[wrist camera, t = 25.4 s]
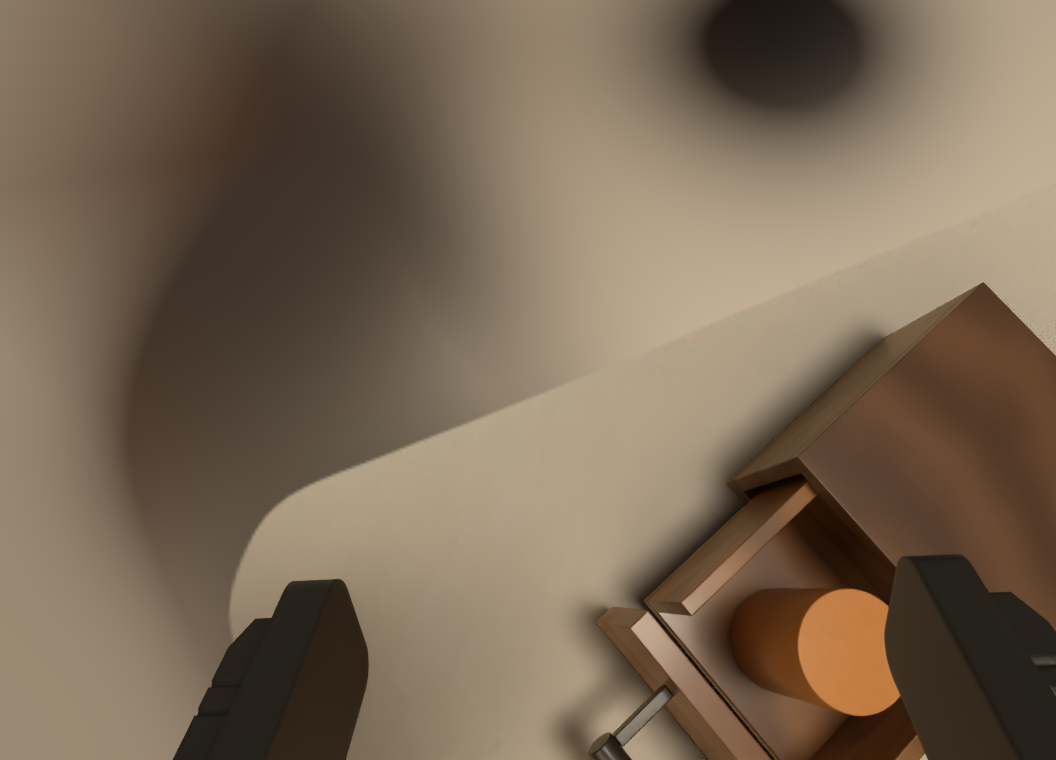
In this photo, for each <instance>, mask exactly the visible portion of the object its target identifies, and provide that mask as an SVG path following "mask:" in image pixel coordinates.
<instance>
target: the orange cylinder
mask: <svg viewBox="0 0 1056 760" xmlns="http://www.w3.org/2000/svg"><path fill="white" fill-rule="evenodd" d="M888 608H889V606H887V605H886V604H885V603H884V602H883V601H882V600H880V599H879V598H877V597H876V596H874V595H872V594H870V593H867V592H865V591H862V590H857V589H849V588H774V589H765V590H761V591H759V592H756V593H754V594H753V595H751V596H750V597H748V598H747V599H746V600H745V601H744V602H743V603H742V604H741V606H740V607H739V609H738V611H737V612H736V614H735V617H734V620H733V624H732V630H731V642H732V648H733V652H734V655H735V658H736V661H737V663H738V664H739V666H740V668H741V669H742V671H743V672H744V673H745V675H746V676H747V677H748V678H749V679H750V680H751V681H753V682H754V683H755V684H757V685H758V686H760V687H762V688H764V689H766V690H769V691H772V692H775V693H779V694H782V695H785V696H788V697H792V698H795V699H798V700H802V701H805V702H808V703H811V704H815V705H818V706H821V707H825V708H828V709H831V710H834V711H838V712H841V713H844V714H848V715H853V716H869V715H873V714H877V713H879V712H881V711H884V710H885V709H887V708H888V707H890V706H891V705H892V704H893V703H894V702H896V700H897V699H898V698H899V697H900V694H899V691H898V689H897V687H896V684H895V682H894V680H893V677H892V675H891V672H890V669H889V665H888V661H887V657H886V651H885V643H884V631H885V624H886V619H887V614H888Z"/></svg>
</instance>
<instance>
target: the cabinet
mask: <svg viewBox="0 0 1056 760" xmlns="http://www.w3.org/2000/svg"><path fill="white" fill-rule="evenodd" d="M798 474H802V475H803V476H804V477H805V478H806V479H807V480H808V482H809V483H810V484H811V485H812V486H813V487H814V488H815V489H816V491H817V492H818V493H819V494H820V495H821V496H822V497H823V498H824V500H825V501H826V502H827V503H828V504H829V505H830V506H831V507H832V509H833V510H834V511H835V512H836V513H837V514H838V515H839V516H840V518H841V519H842V520H843V521H844V522H845V523H846V524H847V525H848V527H849V528H850V529H851V530H852V531H853V532H854V533H855V534H856V535H857V537H858V538H859V539H860V540H861V541H862V542H863V543H864V544H865V546H866V547H867V548H868V549H869V550H870V551H871V552H872V553H873V555H874V556H875V557H876V558H877V559H878V560H879V561H880V562H881V564H882V565H883V566H884V567H885V568H886V569H887V570H888V571H889V573H890V574H891V575H892V576H893V577H894V576H895V571H896V566H897V562H898V560H899V559H900V557H902V556H918V555H941V554H961V555H963V556H965V557H966V558H967V559H968V560H969V562H970V563H971V564H972V566H973V567H974V569H975V571H976V572H977V574H978V575H979V577H980V578H981V580H982V582H983V583H984V585H985V586H986V588H987V589H988V591H989V592H1012V593H1013V594H1014V595H1016V596H1017V597H1018V598H1019V599H1021V600H1022V601H1023V602H1025V603H1026V604H1027V605H1028V606H1030V607H1031V608H1032V609H1033V610H1035V611H1036V612H1037V613H1038V614H1040V615H1041V616H1042V617H1043V618H1045V619H1046V620H1047V621H1048V622H1049V623H1050V624H1051V625H1052V627H1053V628H1054V630H1055V631H1056V356H1055V355H1054V354H1053V353H1052V352H1051V351H1050V350H1049V349H1048V348H1047V347H1046V346H1045V345H1044V343H1043V342H1042V341H1041V340H1040V339H1039V338H1038V337H1037V336H1036V335H1035V334H1034V333H1033V332H1032V331H1031V330H1030V329H1029V328H1028V327H1027V326H1026V325H1025V324H1024V323H1023V322H1022V321H1021V320H1020V319H1019V318H1018V317H1017V316H1016V315H1015V314H1014V313H1013V312H1012V311H1011V310H1010V309H1009V308H1008V307H1007V306H1006V305H1005V304H1004V303H1003V302H1002V301H1001V300H1000V299H999V297H998V296H997V295H996V294H995V293H994V292H993V291H992V290H991V289H990V288H989V287H988V286H987V285H986V284H985V283H984V282H983V283H981V284H979V285H977V286H975V287H974V288H972V289H971V290H969V291H967V292H965V293H963V294H961V295H960V296H958V297H956V298H954V299H953V300H951V301H949V302H947V303H945V304H944V305H942V306H940V307H938V308H936V309H935V310H933V311H931V312H929V313H928V314H926V315H924V316H922V317H920V318H919V319H917V320H915V321H913V322H911V323H910V324H908V325H906V326H904V327H903V328H901V329H899V330H897V331H895V332H894V333H892V334H890V335H888V336H886V337H885V338H884V339H883V340H882V341H880V342H879V343H878V344H877V345H876V346H875V347H874V348H873V349H872V350H871V351H870V352H868V353H867V354H866V355H865V356H864V357H863V358H862V359H861V360H860V361H859V362H858V363H856V364H855V365H854V366H853V367H852V368H851V369H850V370H849V371H848V372H847V373H846V374H844V375H843V376H842V377H841V378H840V379H839V380H838V381H837V382H836V383H835V384H834V385H832V386H831V387H830V388H829V389H828V390H827V391H826V392H825V393H824V394H823V395H822V396H820V397H819V398H818V399H817V400H816V401H815V402H814V403H813V404H812V405H811V406H810V407H808V408H807V409H806V410H805V411H804V412H803V413H802V414H801V415H800V416H799V417H798V418H796V419H795V420H794V421H793V422H792V423H791V424H790V425H789V426H788V427H787V428H786V429H784V430H783V431H782V432H781V433H780V434H779V435H778V436H777V437H776V438H775V439H774V440H772V441H771V442H770V443H769V444H768V445H767V446H766V447H765V448H764V449H763V450H762V451H760V452H759V453H758V454H757V455H756V456H755V457H754V458H753V459H752V460H751V461H750V462H748V463H747V464H746V465H745V466H744V467H743V468H742V469H741V470H740V471H739V472H738V473H736V474H735V475H734V476H733V477H732V478H731V479H730V480H729V481H728V482H727V483H728V484H729V485H730V486H731V487H732V489H733V490H734V491H735V492H736V493H737V494H738V496H739V497H740V498H741V499H742V500H743V501H744V502H745V504H747V503H748V502H749V501H750V500H751V499H752V498H753V497H754V496H755V495H756V494H758V493H759V492H760V491H761V490H762V489H763V488H764V487H765V486H766V485H767V484H769V483H772V482H775V481H779V480H782V479H785V478H788V477H791V476H794V475H798Z"/></svg>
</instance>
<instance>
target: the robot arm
mask: <svg viewBox="0 0 1056 760" xmlns="http://www.w3.org/2000/svg"><path fill="white" fill-rule="evenodd" d="M884 643H885V651H886V657H887V661H888V665H889V669H890V672H891V675H892V677H893V680H894V682H895V684H896V687H897V689H898V691H899V694H900V696H901V698H902V701H903V703H904V705H905V707H906V710H907V712H908V714H909V717H910V719H911V721H912V724H913V726H914V728H915V731H916V733H917V735H918V738H919V740H920V742H921V745H922V747H923V749H924V752H925V754H926V756H927V759H928V760H1056V631H1055V630H1054V628H1053V627H1052V625H1051V624H1050V623H1049V622H1048V621H1047V620H1046V619H1045V618H1043V617H1042V616H1041V615H1040V614H1038V613H1037V612H1036V611H1035V610H1033V609H1032V608H1031V607H1030V606H1028V605H1027V604H1026V603H1025V602H1023V601H1022V600H1021V599H1019V598H1018V597H1017V596H1016V595H1014V594H1013V593H1012V592H989V591H988V589H987V588H986V586H985V585H984V583H983V582H982V580H981V578H980V577H979V575H978V574H977V572H976V571H975V569H974V567H973V566H972V564H971V563H970V562H969V560H968V559H967V558H966V557H965V556H963V555H961V554H941V555H918V556H902V557H900V559H899V560H898V562H897V566H896V571H895V576H894V581H893V587H892V592H891V598H890V603H889V608H888V614H887V619H886V624H885V631H884ZM368 667H369V662H368V651H367V646H366V642H365V639H364V636H363V633H362V630H361V627H360V625H359V622H358V619H357V616H356V613H355V610H354V607H353V604H352V601H351V598H350V595H349V592H348V589H347V587H346V584H345V583H344V582H343V581H342V580H341V579H333V580H310V581H292V582H290V583H289V584H288V585H287V586H286V588H285V590H284V591H283V594H282V596H281V598H280V600H279V602H278V605H277V607H276V609H275V611H274V613H273V616H272V618H262V619H255V620H254V621H253V622H252V623H251V624H250V625H249V626H248V627H247V628H246V629H245V630H244V631H243V633H242V634H241V635H240V636H239V637H238V638H237V639H236V640H235V641H234V642H233V643H232V644H231V645H230V646H229V647H228V649H227V651H226V653H225V655H224V658H223V660H222V661H221V663H220V665H219V668H218V669H217V671H216V673H215V675H214V677H213V680H212V686H211V688H208V690H207V692H206V694H205V696H204V698H203V700H202V702H201V704H200V706H199V708H198V710H199V712H198V715H197V716H194V718H193V720H192V722H191V724H190V726H189V728H188V730H187V732H186V734H185V736H184V738H183V740H182V742H181V744H180V746H179V748H178V750H177V753H176V754H175V756H174V758H173V760H346V757H347V753H348V750H349V746H350V743H351V739H352V736H353V732H354V729H355V725H356V722H357V718H358V714H359V711H360V707H361V704H362V700H363V697H364V693H365V690H366V685H367V679H368Z"/></svg>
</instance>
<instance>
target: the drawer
mask: <svg viewBox="0 0 1056 760" xmlns="http://www.w3.org/2000/svg"><path fill="white" fill-rule="evenodd" d="M893 581H894V577H893V576H892V575H891V574H890V573H889V571H888V570H887V569H886V568H885V567H884V566H883V565H882V564H881V562H880V561H879V560H878V559H877V558H876V557H875V556H874V555H873V553H872V552H871V551H870V550H869V549H868V548H867V547H866V546H865V544H864V543H863V542H862V541H861V540H860V539H859V538H858V537H857V535H856V534H855V533H854V532H853V531H852V530H851V529H850V528H849V527H848V525H847V524H846V523H845V522H844V521H843V520H842V519H841V518H840V516H839V515H838V514H837V513H836V512H835V511H834V510H833V509H832V507H831V506H830V505H829V504H828V503H827V502H826V501H825V500H824V498H823V497H822V496H821V495H820V494H819V493H818V492H817V491H816V489H815V488H814V487H813V486H812V485H811V484H810V483H809V482H808V480H807V479H806V478H805V477H804V476H803V475H802V474H798V475H794V476H791V477H788V478H785V479H782V480H779V481H775V482H772V483H769V484H767V485H766V486H765V487H764V488H763V489H762V490H761V491H760V492H759V493H758V494H756V495H755V496H754V497H753V498H752V499H751V500H750V501H749V502H748V503H747V504H746V505H745V506H744V507H743V508H742V509H740V510H739V511H738V512H737V513H736V514H735V515H734V516H733V517H732V518H731V519H730V520H729V521H728V522H727V523H726V524H724V525H723V526H722V527H721V528H720V529H719V530H718V531H717V532H716V533H715V534H714V535H713V536H712V537H711V538H710V539H708V540H707V541H706V542H705V543H704V544H703V545H702V546H701V547H700V548H699V549H698V550H697V551H696V552H695V553H694V554H692V555H691V556H690V557H689V558H688V559H687V560H686V561H685V562H684V563H683V564H682V565H681V566H680V567H679V568H678V569H676V570H675V571H674V572H673V573H672V574H671V575H670V576H669V577H668V578H667V579H666V580H665V581H664V582H663V583H662V584H660V585H659V586H658V587H657V588H656V589H655V590H654V591H653V592H652V593H651V594H650V595H649V596H648V597H647V598H646V599H645V600H644V602H645V603H646V604H647V606H648V607H649V608H650V609H651V610H652V612H653V613H654V614H655V615H656V616H657V618H658V619H659V620H660V621H661V622H662V624H663V625H664V626H665V627H666V629H667V630H668V631H669V632H670V633H671V635H672V636H673V637H674V638H675V639H676V641H677V642H678V643H679V644H680V645H681V647H682V648H683V649H684V650H685V651H686V653H687V654H688V655H689V656H690V658H691V659H692V660H693V661H694V662H695V664H696V665H697V666H698V667H699V668H700V670H701V671H702V672H703V673H704V674H705V676H706V677H707V678H708V679H709V681H710V682H711V683H712V684H713V685H714V687H715V688H716V689H717V690H718V691H719V693H720V694H721V695H722V696H723V697H724V699H725V700H726V701H727V702H728V703H729V705H730V706H731V707H732V708H733V710H734V711H735V712H736V713H737V714H738V716H739V717H740V718H741V719H742V720H743V722H744V723H745V724H746V725H747V726H748V728H749V729H750V730H751V731H752V732H753V734H754V735H755V736H756V737H757V739H758V740H759V741H760V742H761V743H762V745H763V746H764V747H765V748H766V749H767V751H768V752H769V753H770V754H771V755H772V757H773V758H774V759H775V760H920V758H921V757H922V756H923V755H924V754H925V752H924V749H923V747H922V745H921V742H920V740H919V738H918V735H917V733H916V731H915V728H914V726H913V724H912V721H911V719H910V717H909V714H908V712H907V710H906V707H905V705H904V703H903V701H902V698H901V696H900V697H899V698H898V699H897V700H896V702H894V703H893V704H892V705H891V706H890V707H888V708H887V709H885V710H884V711H881V712H879V713H877V714H873V715H869V716H853V715H848V714H844V713H841V712H838V711H834V710H831V709H828V708H825V707H821V706H818V705H815V704H811V703H808V702H805V701H802V700H798V699H795V698H792V697H788V696H785V695H782V694H779V693H775V692H772V691H769V690H766V689H764V688H762V687H760V686H758V685H757V684H755V683H754V682H753V681H751V680H750V679H749V678H748V677H747V676H746V675H745V673H744V672H743V671H742V669H741V668H740V666H739V664H738V663H737V661H736V658H735V655H734V652H733V648H732V642H731V630H732V624H733V620H734V617H735V614H736V612H737V611H738V609H739V607H740V606H741V604H742V603H743V602H744V601H745V600H746V599H747V598H748V597H750V596H751V595H753V594H754V593H756V592H759V591H761V590H765V589H774V588H849V589H857V590H862V591H865V592H867V593H870V594H872V595H874V596H876V597H877V598H879V599H880V600H882V601H883V602H884V603H885V604H886V605H887V606H889V603H890V598H891V592H892V587H893ZM597 623H598V624H599V625H600V626H601V628H602V629H603V630H604V631H605V632H606V634H607V635H608V636H609V637H610V639H611V640H612V641H613V642H614V644H615V645H616V646H617V647H618V648H619V650H620V651H621V652H622V653H623V655H624V656H625V657H626V658H627V660H628V661H629V662H630V663H631V664H632V666H633V667H634V668H635V669H636V671H637V672H638V673H639V674H640V676H641V677H642V678H643V679H644V680H645V682H646V683H647V684H648V685H649V687H650V688H651V689H652V690H653V692H654V693H653V694H652V695H651V696H650V697H649V698H648V699H647V700H646V701H645V702H644V703H643V704H642V705H641V706H640V707H639V708H638V709H637V710H636V711H635V712H634V713H633V714H632V715H631V716H630V717H629V718H628V719H627V720H626V721H625V722H624V723H623V724H622V725H621V726H620V727H619V728H618V729H617V730H616V731H615V732H614V733H613V734H611V733H605V734H603V735H602V736H600V737H599V738H598V739H597V740H596V741H595V742H594V743H593V744H592V745H591V747H590V748H589V750H588V756H589V757H590V758H591V760H632V759H631V758H630V757H629V755H628V754H627V753H626V752H625V750H624V749H623V748H622V747H623V746H625V745H626V744H627V743H628V742H629V741H630V740H631V738H632V737H633V736H634V735H635V734H636V733H637V732H638V731H639V730H640V729H641V728H642V727H643V726H644V725H645V724H646V723H647V722H648V721H649V720H650V719H651V718H652V717H653V716H654V715H655V714H656V713H657V712H658V711H659V710H660V709H661V708H662V707H663V706H664V705H665V706H666V708H667V709H668V710H669V711H670V712H671V714H672V715H673V716H674V717H675V719H676V720H677V721H678V722H679V724H680V725H681V726H682V727H683V728H684V730H685V731H686V732H687V733H688V735H689V736H690V737H691V738H692V740H693V741H694V742H695V743H696V744H697V746H698V747H699V748H700V749H701V751H702V752H703V753H704V754H705V756H706V757H707V758H708V759H709V760H772V759H771V758H770V757H769V756H768V755H767V753H766V752H765V751H764V750H763V748H762V747H761V746H760V745H759V744H758V742H757V741H756V740H755V739H754V738H753V736H752V735H751V734H750V733H749V732H748V730H747V729H746V728H745V727H744V725H743V724H742V723H741V722H740V721H739V719H738V718H737V717H736V716H735V715H734V713H733V712H732V711H731V710H730V709H729V707H728V706H727V705H726V704H725V703H724V701H723V700H722V699H721V698H720V696H719V695H718V694H717V693H716V692H715V690H714V689H713V688H712V687H711V686H710V684H709V683H708V682H707V681H706V680H705V678H704V677H703V676H702V675H701V673H700V672H699V671H698V670H697V669H696V667H695V666H694V665H693V664H692V663H691V661H690V660H689V659H688V658H687V657H686V655H685V654H684V653H683V652H682V650H681V649H680V648H679V647H678V646H677V644H676V643H675V642H674V641H673V640H672V638H671V637H670V636H669V635H668V634H667V632H666V631H665V630H664V629H663V627H662V626H661V625H660V624H659V623H658V621H657V620H656V619H655V618H654V617H653V615H652V614H651V613H650V612H649V611H648V610H640V609H630V608H620V607H611V608H610V609H609V610H608V611H607V612H606V613H605V614H604V615H603V616H602V617H601V618H600V619H599V620H598V621H597ZM621 746H622V747H621Z"/></svg>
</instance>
